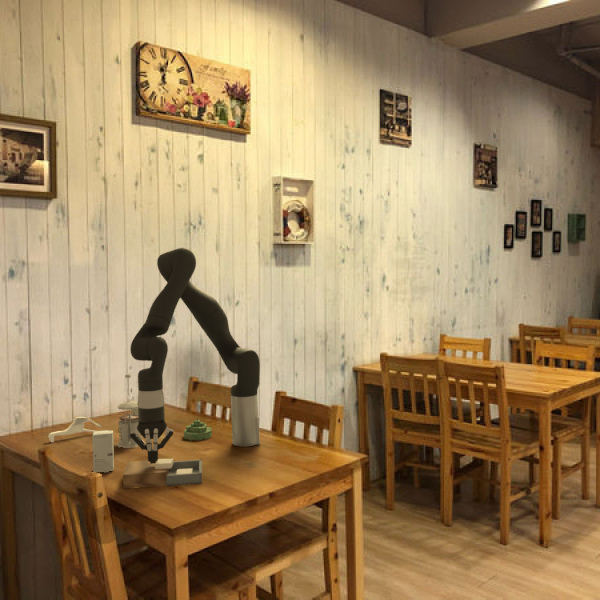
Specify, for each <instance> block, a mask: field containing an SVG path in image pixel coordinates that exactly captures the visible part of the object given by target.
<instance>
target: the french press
mask: <svg viewBox="0 0 600 600" xmlns="http://www.w3.org/2000/svg"><path fill="white" fill-rule="evenodd" d="M131 377H132V376H131V374H130V373H126V374H125V376H124V378H126V379H127V393H128V395H130V385H129V378H131ZM137 402H138V401H135V400H127V401H123V402H121V403H119V404H118V405H117V409H118V410H123V411H125V410H128V411H129V412H128V413H129V414H127V412H125V413H124V415H121V416H120V417H118V418H119V421H118V426H119V427H118V433H119V434H118V436H119V438H118V440H119V442H118V443H117V444H116V447H117V446H118V447H117V448H120V447H123V448H122V449H132V448H138V447H139V446H138V445H137V443H136V442H135V441H134V440H133V439H132V438H131V437H130V434H131V432H133V431H135V430H136V429H137V426H138V423H139V421H138V415H135V414H134V415H132V411H131V409H135V408H138V404H137ZM139 437H140V438H141V440H142V441H143V442H144V443H145V444H146V441H144V440H143V436H142V435H141V434H140V433H139Z"/></svg>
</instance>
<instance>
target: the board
mask: <svg viewBox="0 0 600 600" xmlns="http://www.w3.org/2000/svg"><path fill="white" fill-rule="evenodd" d="M156 462H157V461H156ZM155 464H156V463H152V464H151V463H150V462H149V461H148V460H138V461H137V460H136V461H128V462H127V464H126V467H125V468H124V472H123V475H122V481H123V483H122V484H123V489H124V488H130V489H135V488H134V487H143V488H152V487H153V488H155V487H168V486H167V482H166V475H168V473H169V468H167V469H155Z"/></svg>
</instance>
